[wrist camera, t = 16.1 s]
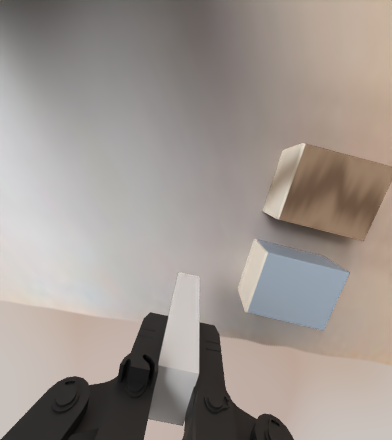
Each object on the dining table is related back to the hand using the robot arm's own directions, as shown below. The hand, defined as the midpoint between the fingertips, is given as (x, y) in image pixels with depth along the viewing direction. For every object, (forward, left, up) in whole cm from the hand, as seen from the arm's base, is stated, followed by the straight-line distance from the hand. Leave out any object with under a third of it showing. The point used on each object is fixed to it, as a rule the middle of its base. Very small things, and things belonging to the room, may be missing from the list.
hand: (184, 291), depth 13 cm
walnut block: (-9, +8, -11) cm, 17 cm away
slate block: (+2, +8, -11) cm, 14 cm away
